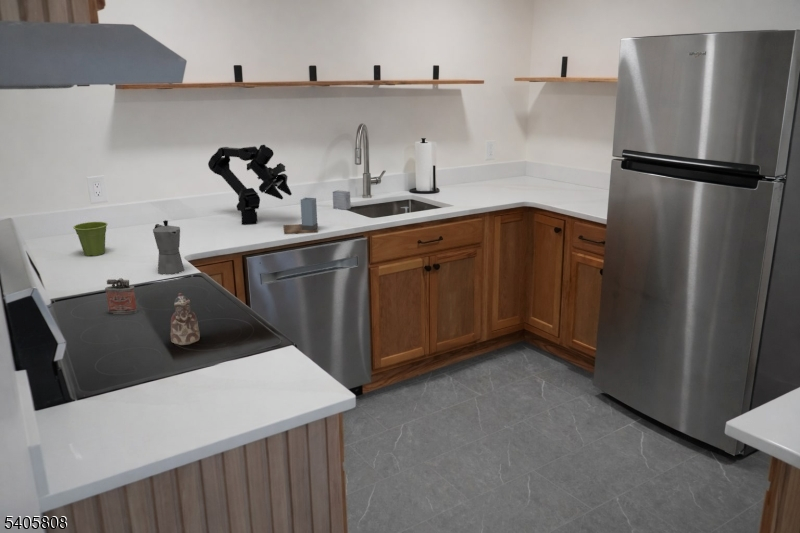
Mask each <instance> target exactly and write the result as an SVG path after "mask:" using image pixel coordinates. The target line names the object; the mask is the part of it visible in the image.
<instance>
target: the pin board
mask: <svg viewBox="0 0 800 533" xmlns="http://www.w3.org/2000/svg"><path fill="white" fill-rule="evenodd" d="M301 225H302V223H300V224H298V223H297V224H283V225H282V226H283V232H284V233H283V234H284V235H294V234H295V235H296V234H297V235H298V234H314V233H319V231H318V228H317V229H315V230H302V226H301Z"/></svg>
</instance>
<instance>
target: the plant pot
mask: <svg viewBox="0 0 800 533" xmlns="http://www.w3.org/2000/svg"><path fill="white" fill-rule="evenodd" d="M107 226H108V223H107V222H106V221H91V222H90V221H88V222H82V223H78V224H76V225H73V226H72V227H73V230H75V232H76V235H77V237H78V240H79V243H80V245H81V248H82V251H83V255H84V256H87V257H90V256H94V257H96V256H101V255H103V254H104V253H105V252H106V232H107Z"/></svg>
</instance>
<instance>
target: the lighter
mask: <svg viewBox="0 0 800 533" xmlns="http://www.w3.org/2000/svg"><path fill="white" fill-rule="evenodd" d="M106 285H110V286H106V287H104V290H105V293H106V299H107V305H108V306H107V307H108V309H107V311H108V314H109V313H113V314H112V315H129V314H136V313H137V312H138V307H137V303H136V302H137V301H136V297H135V296H136V295H135V286H134V285H130V279H123V278H122V277H121V278H118V279H116V278H115V279H112V278H110V279H107V280H106Z"/></svg>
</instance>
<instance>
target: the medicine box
mask: <svg viewBox="0 0 800 533" xmlns="http://www.w3.org/2000/svg"><path fill="white" fill-rule="evenodd" d="M351 204H352V202H351V192H350V190H349V191H347V190H341V189H340V190H334V191H332V207H333V209H335V208H338V209H337V210H345V211H347V210H350V209H351V208H352V205H351Z"/></svg>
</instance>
